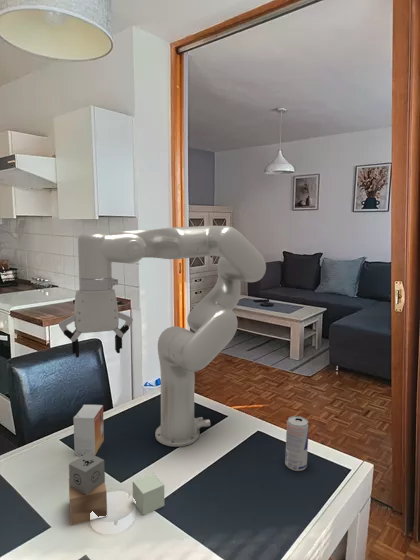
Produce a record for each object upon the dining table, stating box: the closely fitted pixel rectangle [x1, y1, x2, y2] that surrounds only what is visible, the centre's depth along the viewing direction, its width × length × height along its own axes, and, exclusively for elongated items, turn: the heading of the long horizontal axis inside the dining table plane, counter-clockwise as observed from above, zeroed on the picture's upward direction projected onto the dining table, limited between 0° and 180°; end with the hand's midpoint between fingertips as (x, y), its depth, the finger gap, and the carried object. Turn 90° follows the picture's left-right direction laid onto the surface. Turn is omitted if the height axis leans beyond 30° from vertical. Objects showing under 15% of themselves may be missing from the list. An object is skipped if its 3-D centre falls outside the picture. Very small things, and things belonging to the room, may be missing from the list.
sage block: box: [132, 472, 165, 516], centre depth 86 cm, size 5×5×5 cm
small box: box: [72, 404, 105, 456], centre depth 107 cm, size 8×6×10 cm
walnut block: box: [68, 480, 108, 526], centre depth 84 cm, size 7×7×6 cm
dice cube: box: [68, 453, 106, 495], centre depth 84 cm, size 5×5×5 cm
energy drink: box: [284, 415, 310, 472], centre depth 100 cm, size 5×5×12 cm
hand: (97, 353), depth 98 cm, fingers open, 9 cm apart
